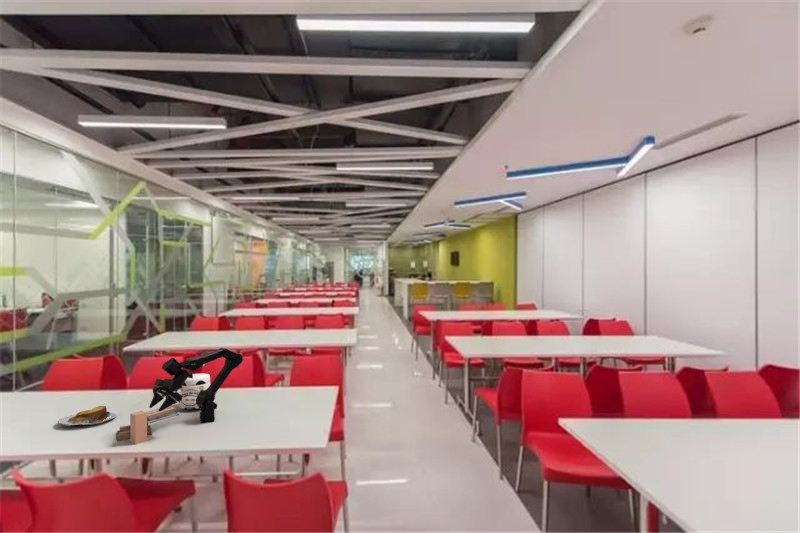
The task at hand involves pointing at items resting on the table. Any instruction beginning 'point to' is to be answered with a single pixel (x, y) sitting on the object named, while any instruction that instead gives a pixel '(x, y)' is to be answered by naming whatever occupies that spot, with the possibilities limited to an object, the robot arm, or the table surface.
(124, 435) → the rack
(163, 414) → the packaged product
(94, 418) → the food on plate
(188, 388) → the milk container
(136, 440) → the clay bar
